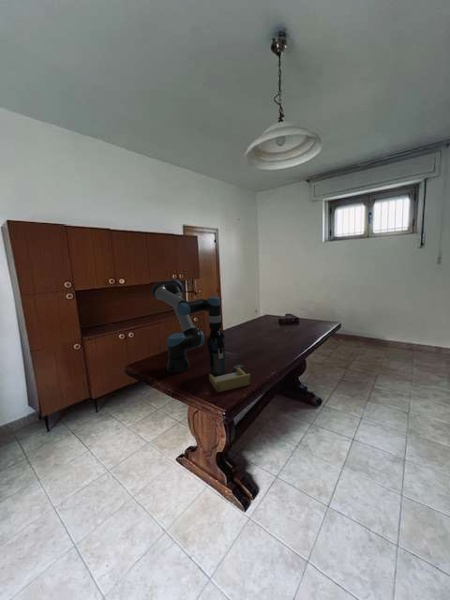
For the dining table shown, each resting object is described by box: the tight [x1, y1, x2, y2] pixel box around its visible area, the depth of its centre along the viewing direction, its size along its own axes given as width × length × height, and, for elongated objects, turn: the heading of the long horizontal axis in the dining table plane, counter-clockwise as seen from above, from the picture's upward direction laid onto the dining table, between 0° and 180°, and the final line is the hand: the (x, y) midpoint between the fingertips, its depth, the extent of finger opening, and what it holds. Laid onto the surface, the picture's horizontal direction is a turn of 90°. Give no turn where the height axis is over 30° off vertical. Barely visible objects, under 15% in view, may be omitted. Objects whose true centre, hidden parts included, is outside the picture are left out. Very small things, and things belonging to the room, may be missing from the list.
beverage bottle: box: [206, 332, 228, 376], centre depth 157 cm, size 10×13×25 cm
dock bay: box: [208, 368, 251, 393], centre depth 146 cm, size 20×16×6 cm
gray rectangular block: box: [232, 363, 245, 373], centre depth 161 cm, size 6×4×3 cm, turn 127°
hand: (217, 354), depth 157 cm, fingers open, 13 cm apart
